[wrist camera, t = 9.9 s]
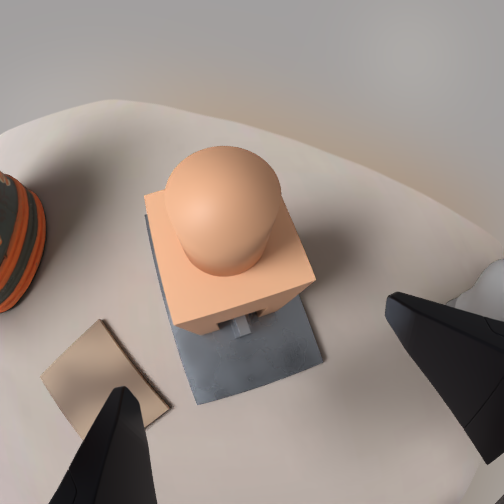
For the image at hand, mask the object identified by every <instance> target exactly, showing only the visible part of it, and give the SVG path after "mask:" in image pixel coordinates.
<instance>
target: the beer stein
mask: <svg viewBox="0 0 504 504" xmlns="http://www.w3.org/2000/svg"><path fill="white" fill-rule="evenodd" d="M45 235H46V222H45V214H44V210H43V207H42V204H41V202H40V200H39V198H38V197H37V195H36V194H35V193H34V192H32V191H30V190H29V189H27V188H26V187H25V186H24V185H22V184H21V183H20V182H19V181H18V180H16V179H15V178H13V177H12V176H10V175H8V174H3V173H2V172H1V171H0V313H1V312H4V311H6V310H8V309H10V308H11V307H13V306H14V305H15V304H16V303H17V302H18V300H19V299H20V298H21V297H22V295H23V294H24V293H25V291H26V290H27V288H28V287H29V285H30V283H31V281H32V279H33V277H34V275H35V273H36V270H37V268H38V266H39V263H40V260H41V257H42V253H43V249H44V243H45Z"/></svg>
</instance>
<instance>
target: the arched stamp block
mask: <svg viewBox="0 0 504 504" xmlns="http://www.w3.org/2000/svg"><path fill="white" fill-rule="evenodd" d="M144 198H145V204H146V210H147V215H148V221H149V226H150V231H151V236H152V241H153V245H154V250H155V255H156V259H157V264H158V268H159V272H160V276H161V280H162V284H163V288H164V292H165V296H166V300H167V304H168V307H169V311H170V315H171V318H172V322H173V325H174V326H177V327H179V328H182V329H184V330H187V331H190V332H192V333H195V334H198V335H204V334H207V333H210V332H214V331H217V330H220V329H219V326H218V323H220V322H224V321H227V320H230V319H233V318H236V317H240V316H243V315H246V314H249V313H252V312H255V311H256V312H257V315H258V317H261V316H264V315H267V314H270V313H273V312H276V311H278V310H279V309H280V308H282V307H283V306H284V305H286V304H287V303H288V302H289V301H291V300H292V299H293V298H294V297H296V296H297V295H298V294H299V293H301V292H302V291H303V290H304V289H306V288H307V287H308V286H309V285H310V284H312V283H313V282H314V281H315V280H316V278H315V275H314V273H313V270H312V268H311V265H310V263H309V260H308V258H307V255H306V253H305V250H304V248H303V246H302V243H301V241H300V238H299V236H298V233H297V231H296V229H295V226H294V224H293V222H292V219H291V217H290V215H289V212H288V210H287V208H286V205H285V203H284V201H283V198H282V196H281V187H280V183H279V180H278V177H277V176H276V174H275V172H274V170H273V169H272V168H271V166H270V165H269V164H268V163H267V162H266V161H265V160H263V159H262V158H261V157H259V156H258V155H256V154H254V153H252V152H250V151H248V150H245V149H242V148H238V147H231V146H217V147H210V148H206V149H203V150H200V151H198V152H195V153H193V154H192V155H190V156H188V157H187V158H185V159H184V160H183V161H182V162H181V163H179V164H178V166H177V167H176V168H175V169H174V170H173V172H172V173H171V175H170V177H169V179H168V181H167V184H166V188H165V189H164V190H161V191H157V192H154V193H151V194H148V195H145V196H144Z"/></svg>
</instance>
